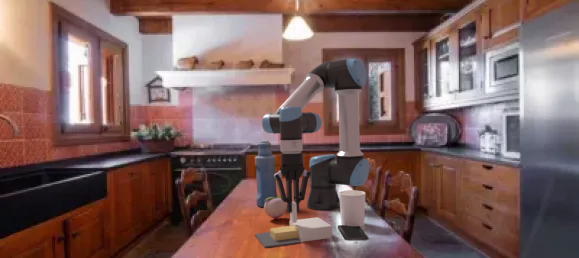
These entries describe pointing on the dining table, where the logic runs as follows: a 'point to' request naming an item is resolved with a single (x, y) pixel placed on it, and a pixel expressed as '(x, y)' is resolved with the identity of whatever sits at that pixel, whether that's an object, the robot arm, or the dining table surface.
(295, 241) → the dark grey mat
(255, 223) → the dining table surface
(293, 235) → the ochre tile
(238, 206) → the dining table surface
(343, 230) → the phone
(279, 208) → the decorative fruit
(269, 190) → the bottle
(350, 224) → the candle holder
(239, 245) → the dining table surface
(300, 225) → the white stand
